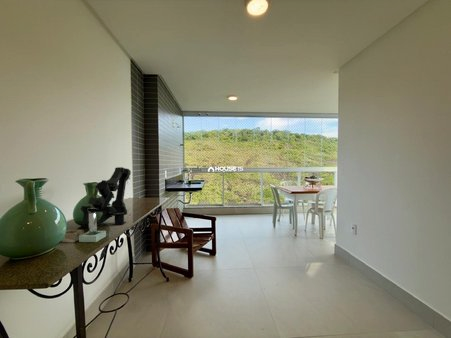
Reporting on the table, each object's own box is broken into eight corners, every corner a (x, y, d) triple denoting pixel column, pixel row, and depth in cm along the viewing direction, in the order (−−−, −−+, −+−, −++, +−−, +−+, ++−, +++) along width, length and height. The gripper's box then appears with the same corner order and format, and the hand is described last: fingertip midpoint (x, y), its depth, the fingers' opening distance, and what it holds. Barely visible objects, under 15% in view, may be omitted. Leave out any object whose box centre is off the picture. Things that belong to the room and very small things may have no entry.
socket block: (90, 236, 123) (90, 230, 123) (105, 236, 123) (105, 230, 123) (78, 241, 114) (78, 236, 114) (96, 242, 114) (95, 236, 114)
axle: (91, 237, 121) (91, 212, 120) (98, 237, 120) (97, 212, 120) (87, 240, 117) (87, 213, 117) (94, 240, 117) (93, 213, 116)
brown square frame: (69, 236, 122) (69, 229, 122) (83, 236, 122) (83, 229, 122) (58, 242, 114) (58, 234, 114) (73, 242, 114) (73, 234, 114)
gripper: (82, 191, 123) (65, 215, 113) (112, 191, 120) (98, 217, 110) (93, 202, 131) (78, 226, 121) (122, 203, 128) (109, 228, 118)
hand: (90, 224), depth 117 cm, fingers open, 9 cm apart
